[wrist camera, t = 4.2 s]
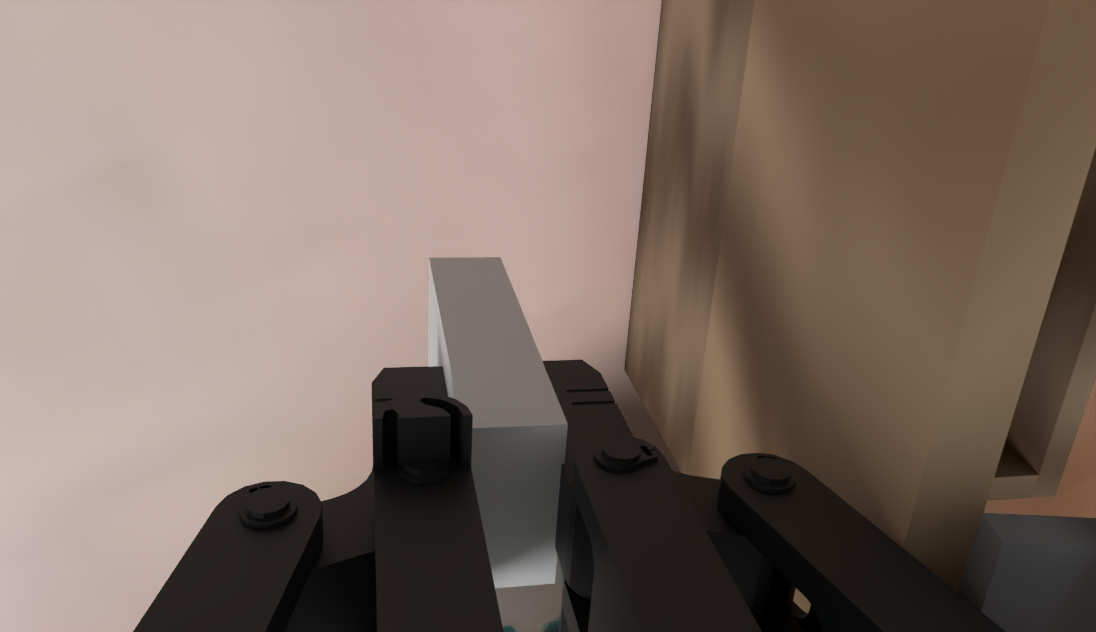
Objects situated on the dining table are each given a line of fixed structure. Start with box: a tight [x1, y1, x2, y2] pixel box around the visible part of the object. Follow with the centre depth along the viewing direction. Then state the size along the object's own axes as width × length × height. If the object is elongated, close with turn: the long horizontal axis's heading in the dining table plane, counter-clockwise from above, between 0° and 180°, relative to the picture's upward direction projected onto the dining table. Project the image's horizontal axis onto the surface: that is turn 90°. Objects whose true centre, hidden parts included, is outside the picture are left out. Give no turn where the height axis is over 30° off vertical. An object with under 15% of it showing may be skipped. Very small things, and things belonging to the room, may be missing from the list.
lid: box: [688, 0, 1096, 632], centre depth 16 cm, size 16×13×2 cm
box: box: [625, 0, 1096, 500], centre depth 27 cm, size 15×11×9 cm
